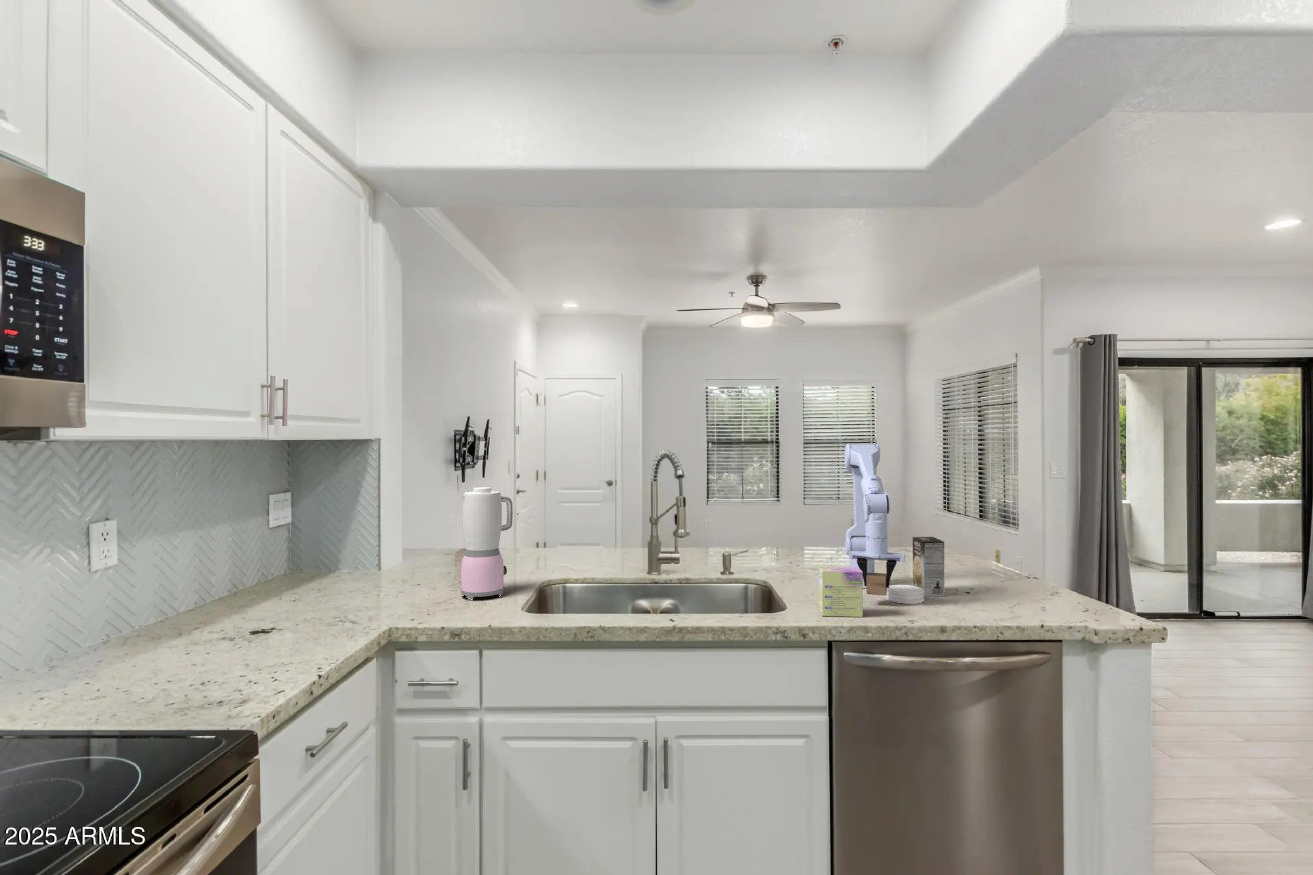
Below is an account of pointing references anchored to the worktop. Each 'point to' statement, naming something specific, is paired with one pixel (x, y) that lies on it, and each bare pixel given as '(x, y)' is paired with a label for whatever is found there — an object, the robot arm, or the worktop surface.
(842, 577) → the box
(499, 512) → the blender
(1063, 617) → the worktop surface
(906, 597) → the white round dish
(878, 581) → the walnut block
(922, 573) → the coffee box
